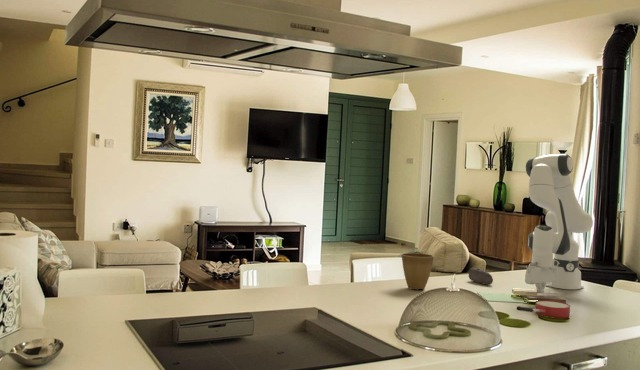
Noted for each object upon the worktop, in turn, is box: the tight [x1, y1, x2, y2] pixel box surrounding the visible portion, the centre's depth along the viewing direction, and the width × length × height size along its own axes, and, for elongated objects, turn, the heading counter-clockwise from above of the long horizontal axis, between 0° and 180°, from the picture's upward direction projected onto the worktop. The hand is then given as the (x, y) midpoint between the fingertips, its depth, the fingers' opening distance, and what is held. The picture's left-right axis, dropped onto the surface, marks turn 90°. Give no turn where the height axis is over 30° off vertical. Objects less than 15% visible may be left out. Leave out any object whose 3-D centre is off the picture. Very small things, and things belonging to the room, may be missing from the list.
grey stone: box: [468, 267, 494, 286], centre depth 313 cm, size 15×5×7 cm, turn 28°
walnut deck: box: [521, 292, 567, 304], centre depth 278 cm, size 14×16×2 cm
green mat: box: [476, 291, 528, 304], centre depth 278 cm, size 18×18×1 cm
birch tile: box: [511, 287, 537, 296], centre depth 279 cm, size 6×10×2 cm, turn 80°
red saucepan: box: [516, 301, 571, 319], centre depth 242 cm, size 32×13×6 cm, turn 137°
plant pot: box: [401, 252, 435, 290], centre depth 290 cm, size 15×15×16 cm
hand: (540, 292), depth 278 cm, fingers closed
